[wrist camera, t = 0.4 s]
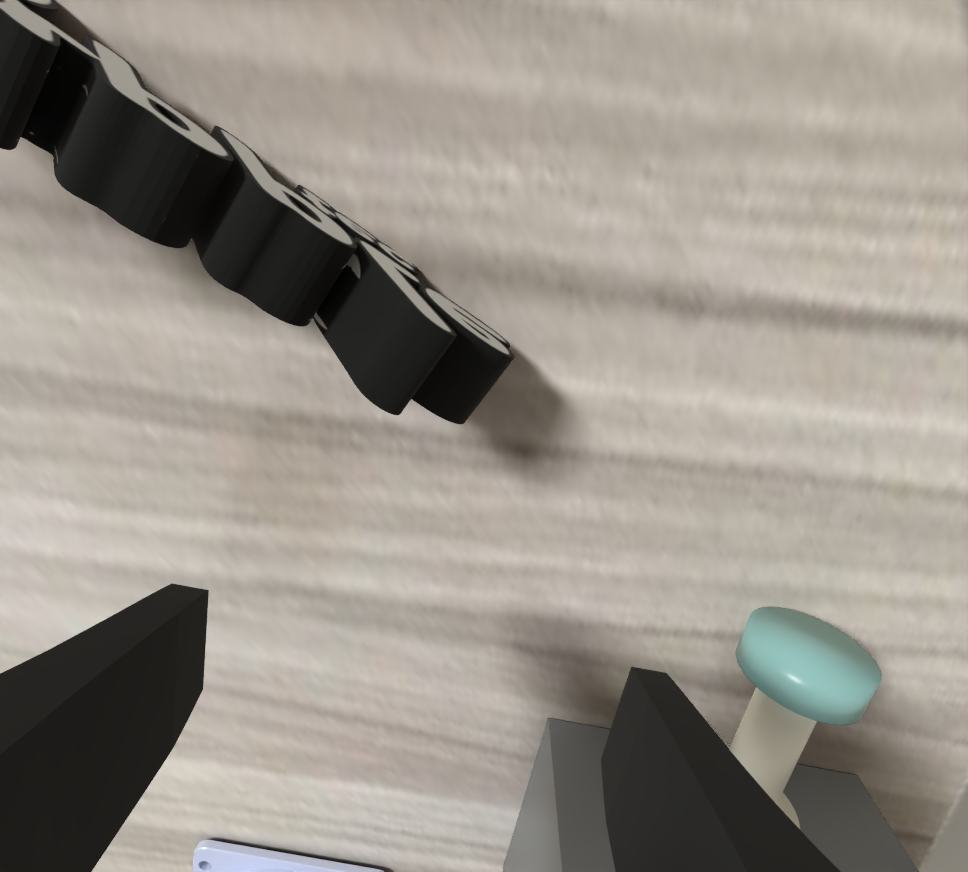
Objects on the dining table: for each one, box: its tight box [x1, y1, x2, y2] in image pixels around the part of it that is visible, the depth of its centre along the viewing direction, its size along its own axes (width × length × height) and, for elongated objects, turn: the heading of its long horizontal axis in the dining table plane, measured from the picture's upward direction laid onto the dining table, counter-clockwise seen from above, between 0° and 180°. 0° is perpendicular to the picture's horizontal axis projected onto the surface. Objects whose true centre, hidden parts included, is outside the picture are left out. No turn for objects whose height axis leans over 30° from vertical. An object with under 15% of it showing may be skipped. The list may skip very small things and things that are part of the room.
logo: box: [0, 0, 514, 424], centre depth 14 cm, size 21×2×10 cm, turn 54°
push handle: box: [729, 607, 881, 829], centre depth 20 cm, size 14×4×4 cm, turn 168°
